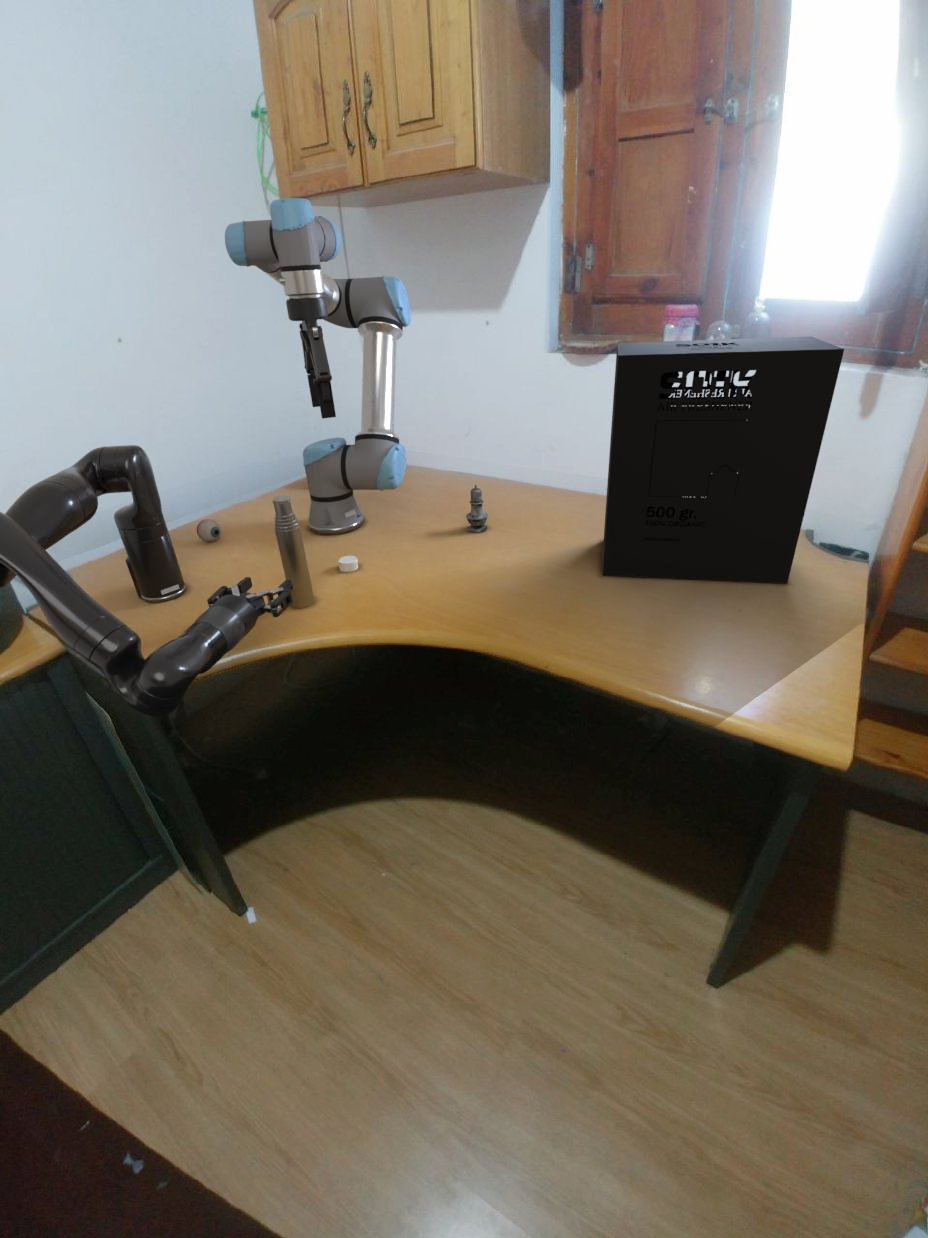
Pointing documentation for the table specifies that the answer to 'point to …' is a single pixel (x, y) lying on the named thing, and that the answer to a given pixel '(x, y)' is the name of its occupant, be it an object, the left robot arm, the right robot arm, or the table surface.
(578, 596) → the table surface
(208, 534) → the eyeball
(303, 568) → the bottle
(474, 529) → the grey upright piece
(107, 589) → the table surface
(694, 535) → the black rectangular box
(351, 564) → the cap
